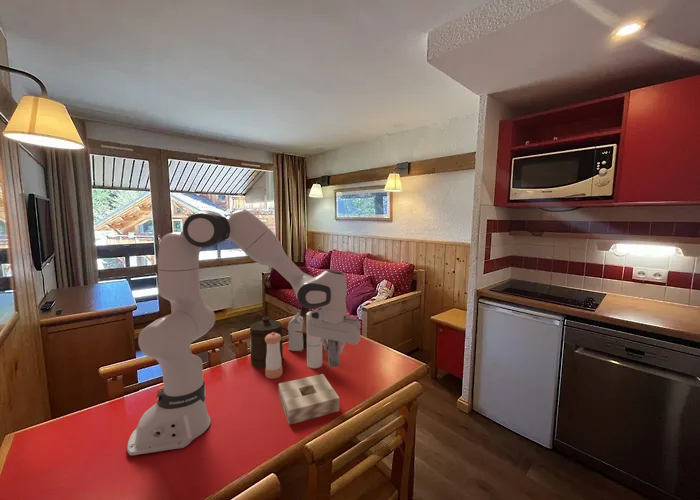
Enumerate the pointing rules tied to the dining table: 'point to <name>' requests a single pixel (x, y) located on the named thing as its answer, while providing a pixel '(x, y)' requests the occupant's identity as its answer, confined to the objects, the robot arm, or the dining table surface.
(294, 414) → the socket block
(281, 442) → the dining table surface
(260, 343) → the wooden container
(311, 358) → the cylindrical container
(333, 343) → the pin
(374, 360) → the dining table surface
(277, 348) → the pepper shaker
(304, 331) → the pitcher
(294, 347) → the milk carton
